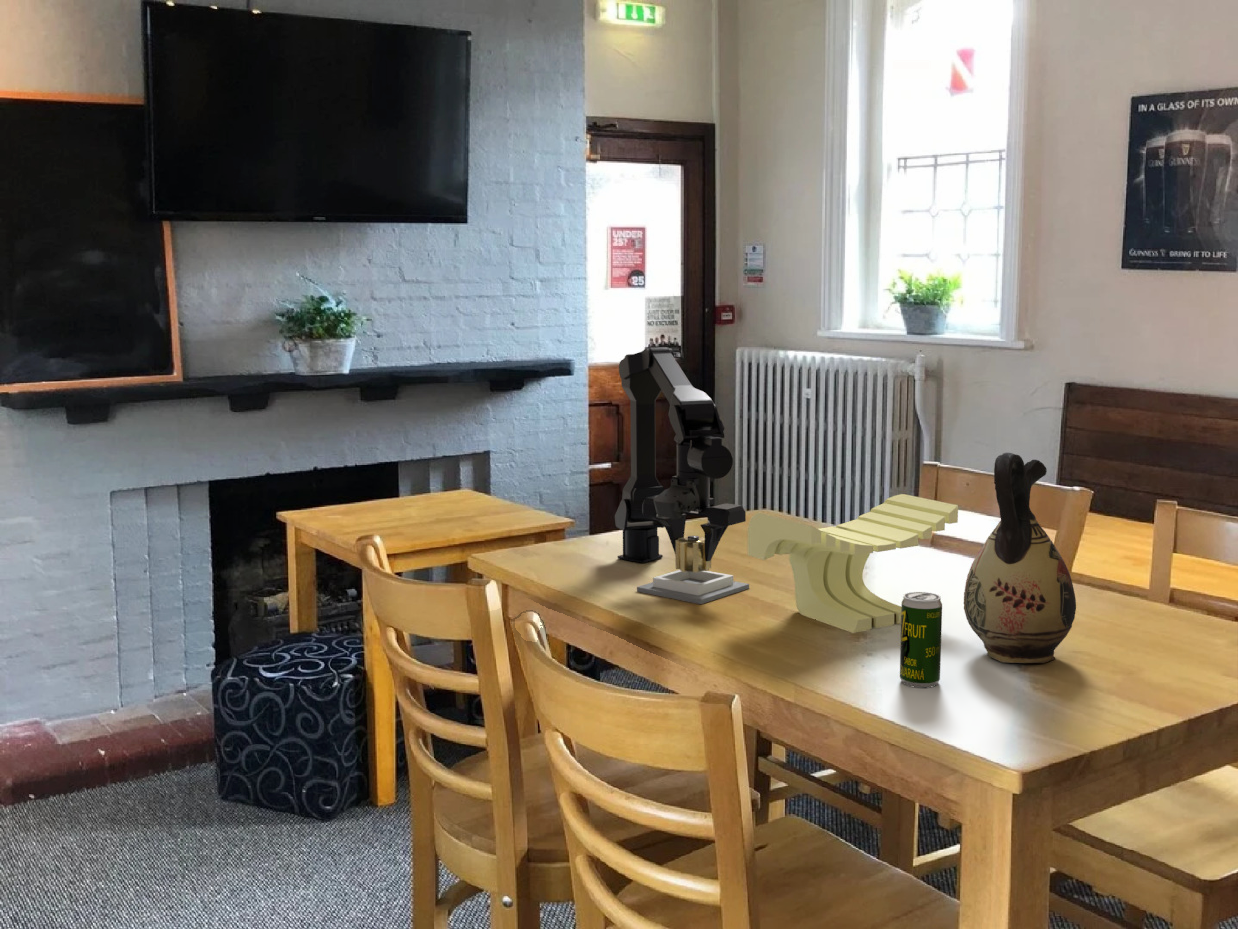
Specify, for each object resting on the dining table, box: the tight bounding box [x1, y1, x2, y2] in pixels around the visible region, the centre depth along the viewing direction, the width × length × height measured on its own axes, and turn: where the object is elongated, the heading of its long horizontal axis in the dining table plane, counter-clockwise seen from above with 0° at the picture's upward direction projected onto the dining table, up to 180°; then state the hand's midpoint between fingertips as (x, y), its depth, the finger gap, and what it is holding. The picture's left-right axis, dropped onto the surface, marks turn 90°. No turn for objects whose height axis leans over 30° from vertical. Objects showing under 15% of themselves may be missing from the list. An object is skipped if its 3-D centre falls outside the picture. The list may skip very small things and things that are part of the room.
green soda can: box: [899, 591, 943, 688], centre depth 177 cm, size 5×5×12 cm
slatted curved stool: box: [747, 493, 959, 634], centre depth 210 cm, size 30×16×18 cm, turn 121°
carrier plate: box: [636, 569, 750, 605], centre depth 229 cm, size 14×14×2 cm
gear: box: [674, 535, 712, 572], centre depth 228 cm, size 6×6×6 cm
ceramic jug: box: [963, 452, 1077, 664], centre depth 186 cm, size 17×15×30 cm
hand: (693, 558), depth 228 cm, fingers closed on gear, 6 cm apart
